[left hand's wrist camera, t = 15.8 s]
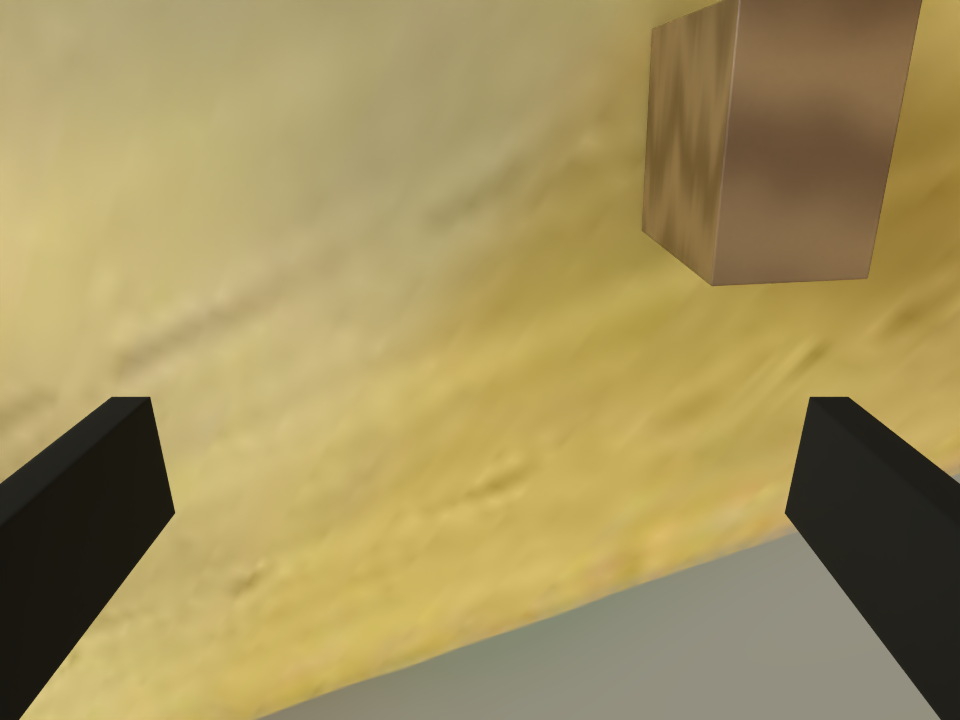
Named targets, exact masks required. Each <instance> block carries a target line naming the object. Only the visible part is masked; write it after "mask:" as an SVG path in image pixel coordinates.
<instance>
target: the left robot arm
mask: <svg viewBox="0 0 960 720" xmlns="http://www.w3.org/2000/svg"><path fill="white" fill-rule="evenodd" d="M174 514H175V510H174V505H173V501H172V496H171V491H170V487H169V482H168V477H167V473H166V468H165V463H164V459H163V454H162V450H161V445H160V440H159V436H158V431H157V426H156V422H155V417H154V412H153V408H152V403H151V399H150V397H111V398H110V399H108V400H107V401H106V402H105V403H103V404H102V405H101V406H99V407H98V408H97V409H96V410H94V411H93V412H92V413H90V414H89V415H88V416H87V417H85V418H84V419H83V420H81V421H80V422H79V423H78V424H76V425H75V426H74V427H72V428H71V429H70V430H69V431H67V432H66V433H65V434H64V435H62V436H61V437H60V438H58V439H57V440H56V441H55V442H53V443H52V444H51V445H49V446H48V447H47V448H46V449H44V450H43V451H42V452H40V453H39V454H38V455H37V456H35V457H34V458H33V459H31V460H30V461H29V462H28V463H26V464H25V465H24V466H23V467H21V468H20V469H19V470H17V471H16V472H15V473H14V474H12V475H11V476H10V477H8V478H7V479H6V480H5V481H3V482H2V483H1V484H0V720H19V719H20V718H21V716H22V715H23V714H24V713H25V711H26V710H27V709H28V707H29V706H30V705H31V703H32V702H33V701H34V699H35V698H36V697H37V695H38V694H39V693H40V691H41V690H42V689H43V687H44V686H45V685H46V683H47V682H48V681H49V679H50V678H51V677H52V675H53V674H54V673H55V671H56V670H57V669H58V668H59V666H60V665H61V664H62V662H63V661H64V660H65V658H66V657H67V656H68V654H69V653H70V652H71V650H72V649H73V648H74V646H75V645H76V644H77V642H78V641H79V640H80V638H81V637H82V636H83V634H84V633H85V632H86V630H87V629H88V628H89V626H90V625H91V624H92V623H93V621H94V620H95V619H96V617H97V616H98V615H99V613H100V612H101V611H102V609H103V608H104V607H105V605H106V604H107V603H108V601H109V600H110V599H111V597H112V596H113V595H114V593H115V592H116V591H117V589H118V588H119V587H120V585H121V584H122V583H123V581H124V580H125V579H126V577H127V576H128V575H129V574H130V572H131V571H132V570H133V568H134V567H135V566H136V564H137V563H138V562H139V560H140V559H141V558H142V556H143V555H144V554H145V552H146V551H147V550H148V548H149V547H150V546H151V544H152V543H153V542H154V540H155V539H156V538H157V536H158V535H159V534H160V532H161V531H162V530H163V529H164V527H165V526H166V525H167V523H168V522H169V521H170V519H171V518H172V517H173V515H174ZM785 514H786V515H787V517H788V518H789V519H790V521H791V522H792V523H793V525H794V526H795V527H796V529H797V530H798V531H799V532H800V534H801V535H802V536H803V538H804V539H805V540H806V542H807V543H808V544H809V546H810V547H811V548H812V550H813V551H814V552H815V554H816V555H817V556H818V558H819V559H820V560H821V562H822V563H823V564H824V566H825V567H826V568H827V570H828V571H829V572H830V574H831V575H832V576H833V577H834V579H835V580H836V581H837V583H838V584H839V585H840V587H841V588H842V589H843V591H844V592H845V593H846V595H847V596H848V597H849V599H850V600H851V601H852V603H853V604H854V605H855V607H856V608H857V609H858V611H859V612H860V613H861V614H862V616H863V617H864V619H865V620H866V621H867V622H868V624H869V625H870V626H871V628H872V629H873V630H874V632H875V633H876V634H877V636H878V637H879V638H880V640H881V641H882V642H883V644H884V645H885V646H886V648H887V649H888V650H889V652H890V653H891V654H892V656H893V657H894V658H895V660H896V661H897V662H898V664H899V665H900V666H901V668H902V669H903V670H904V671H905V673H906V674H907V675H908V677H909V678H910V679H911V681H912V682H913V683H914V685H915V686H916V687H917V689H918V690H919V691H920V693H921V694H922V695H923V697H924V698H925V699H926V701H927V702H928V703H929V705H930V706H931V707H932V709H933V710H934V711H935V713H936V714H937V715H938V716H939V718H940V719H941V720H960V484H959V483H958V482H957V481H955V480H954V479H953V478H952V477H950V476H949V475H948V474H946V473H945V472H944V471H943V470H941V469H940V468H939V467H937V466H936V465H935V464H934V463H932V462H931V461H930V460H929V459H927V458H926V457H925V456H923V455H922V454H921V453H920V452H918V451H917V450H916V449H914V448H913V447H912V446H911V445H909V444H908V443H907V442H905V441H904V440H903V439H902V438H900V437H899V436H898V435H896V434H895V433H894V432H893V431H891V430H890V429H889V428H888V427H886V426H885V425H884V424H882V423H881V422H880V421H879V420H877V419H876V418H875V417H873V416H872V415H871V414H870V413H868V412H867V411H866V410H864V409H863V408H862V407H861V406H859V405H858V404H857V403H855V402H854V401H853V400H852V399H850V398H849V397H810V399H809V403H808V408H807V412H806V417H805V422H804V426H803V431H802V436H801V440H800V445H799V450H798V454H797V459H796V463H795V468H794V473H793V477H792V482H791V487H790V491H789V496H788V501H787V505H786V510H785Z"/></svg>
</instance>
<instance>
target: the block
mask: <svg viewBox="0 0 960 720" xmlns="http://www.w3.org/2000/svg"><path fill="white" fill-rule="evenodd" d="M921 3H922V0H723V1H721V2H718V3H716V4H713V5H711V6H708V7H706V8H703V9H701V10H698V11H696V12H693V13H691V14H688V15H686V16H683V17H681V18H678V19H676V20H673V21H671V22H668V23H666V24H663V25H661V26H658V27H656V28H653V30H652V46H651V66H650V85H649V104H648V123H647V143H646V162H645V181H644V201H643V220H642V231H643V232H644V233H646V234H647V235H648V236H649V237H651V238H652V239H653V240H654V241H656V242H657V243H658V244H659V245H661V246H662V247H663V248H664V249H666V250H667V251H668V252H669V253H671V254H672V255H673V256H674V257H676V258H677V259H678V260H680V261H681V262H682V263H683V264H685V265H686V266H687V267H688V268H690V269H691V270H692V271H693V272H695V273H696V274H697V275H698V276H700V277H701V278H702V279H703V280H705V281H706V282H707V283H708V284H710V285H711V286H724V285H745V284H766V283H788V282H809V281H830V280H851V279H867V278H868V274H869V269H870V264H871V259H872V253H873V248H874V243H875V238H876V233H877V228H878V223H879V218H880V213H881V207H882V202H883V197H884V192H885V187H886V182H887V177H888V172H889V167H890V162H891V156H892V151H893V146H894V141H895V136H896V131H897V126H898V121H899V116H900V110H901V105H902V100H903V95H904V90H905V85H906V80H907V75H908V70H909V64H910V59H911V54H912V49H913V44H914V39H915V34H916V29H917V24H918V18H919V13H920V8H921Z"/></svg>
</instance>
